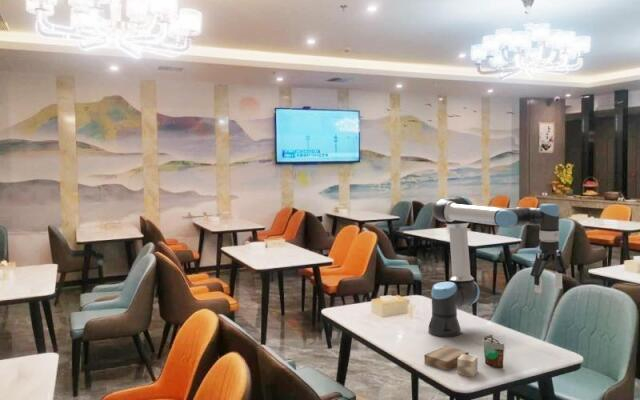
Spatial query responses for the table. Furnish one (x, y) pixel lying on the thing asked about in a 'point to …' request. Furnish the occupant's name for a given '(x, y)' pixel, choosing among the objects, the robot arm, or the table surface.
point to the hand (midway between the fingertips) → (548, 290)
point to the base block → (444, 357)
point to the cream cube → (467, 365)
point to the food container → (493, 352)
